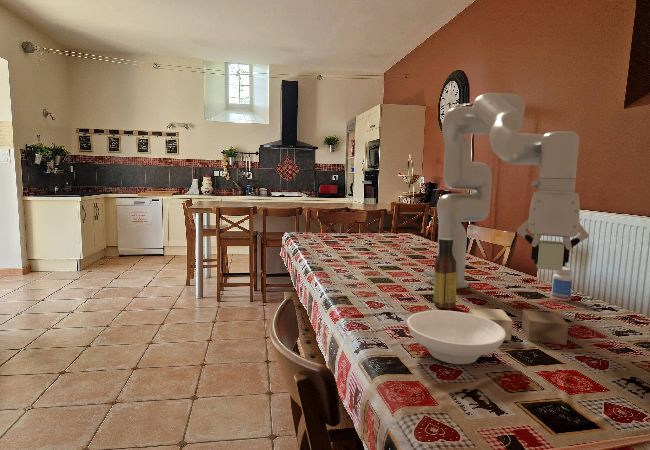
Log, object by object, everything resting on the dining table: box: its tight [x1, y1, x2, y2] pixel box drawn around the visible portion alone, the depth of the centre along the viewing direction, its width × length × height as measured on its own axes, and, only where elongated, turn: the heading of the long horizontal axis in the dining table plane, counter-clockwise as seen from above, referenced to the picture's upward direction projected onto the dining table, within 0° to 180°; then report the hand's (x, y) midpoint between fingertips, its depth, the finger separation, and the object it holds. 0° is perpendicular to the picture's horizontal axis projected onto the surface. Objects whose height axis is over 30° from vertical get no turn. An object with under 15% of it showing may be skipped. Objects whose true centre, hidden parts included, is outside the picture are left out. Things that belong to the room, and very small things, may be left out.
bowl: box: [406, 309, 506, 365], centre depth 86 cm, size 20×20×7 cm
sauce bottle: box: [433, 238, 457, 310], centre depth 119 cm, size 7×6×20 cm
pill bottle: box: [550, 266, 573, 302], centre depth 130 cm, size 6×5×10 cm
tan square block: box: [521, 309, 569, 346], centre depth 99 cm, size 8×8×5 cm
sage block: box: [535, 239, 564, 271], centre depth 97 cm, size 5×5×6 cm
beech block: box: [468, 307, 513, 341], centre depth 100 cm, size 8×8×5 cm
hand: (549, 263), depth 97 cm, fingers closed on sage block, 5 cm apart
